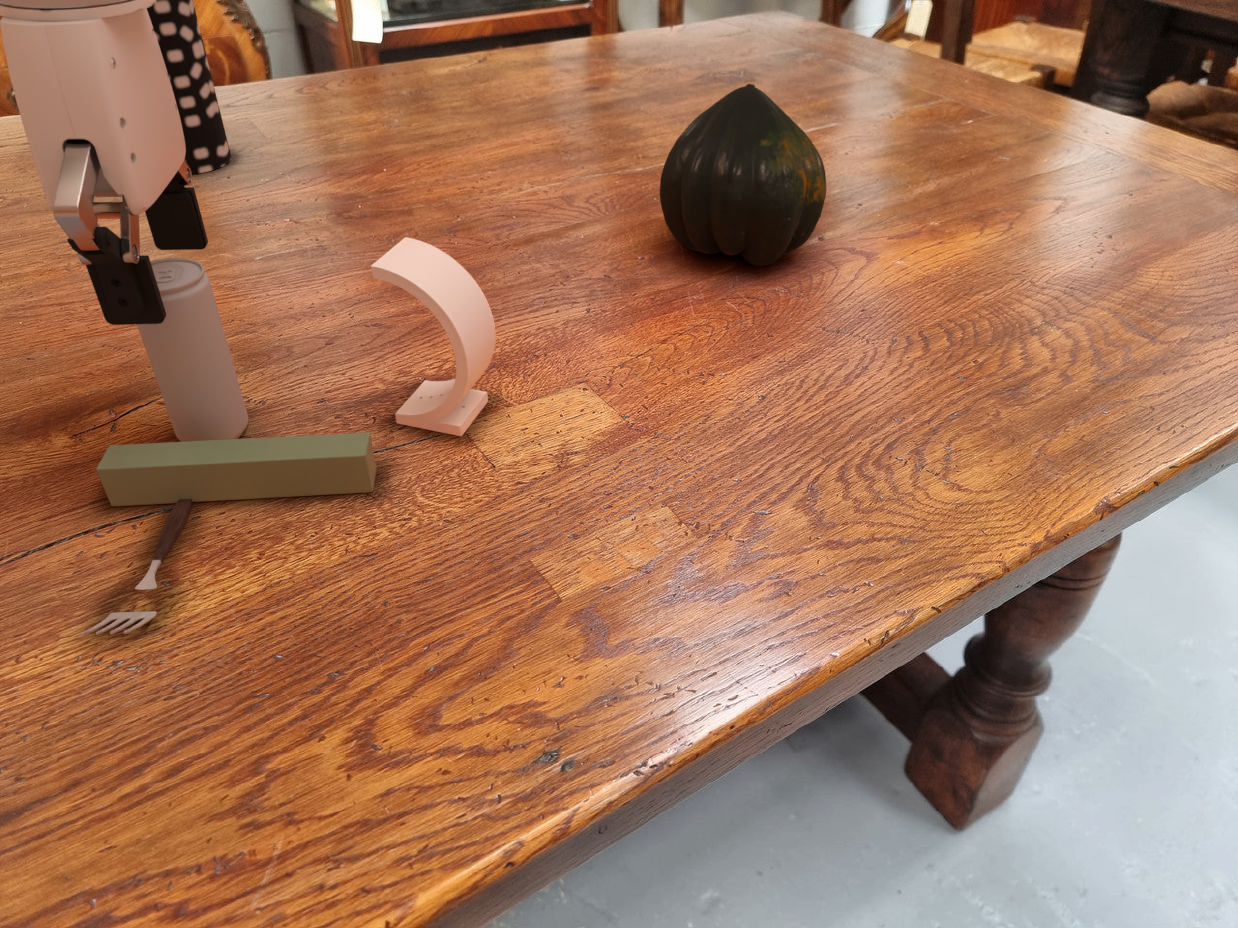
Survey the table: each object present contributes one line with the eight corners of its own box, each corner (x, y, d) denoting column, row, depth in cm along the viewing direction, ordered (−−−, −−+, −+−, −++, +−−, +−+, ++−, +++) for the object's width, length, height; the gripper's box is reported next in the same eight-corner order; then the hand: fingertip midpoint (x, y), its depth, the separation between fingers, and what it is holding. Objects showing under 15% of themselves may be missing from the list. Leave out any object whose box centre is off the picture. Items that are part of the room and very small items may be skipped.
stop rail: (111, 507, 57) (95, 469, 56) (123, 482, 59) (108, 444, 58) (372, 492, 59) (365, 455, 57) (377, 468, 61) (370, 431, 59)
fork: (225, 470, 61) (218, 446, 60) (141, 658, 49) (129, 632, 47) (185, 471, 61) (177, 447, 60) (89, 659, 48) (76, 633, 47)
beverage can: (248, 407, 66) (204, 251, 59) (253, 445, 63) (207, 284, 55) (176, 420, 65) (122, 263, 57) (177, 460, 61) (119, 297, 54)
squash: (737, 248, 76) (822, 80, 75) (607, 204, 84) (682, 52, 83) (801, 308, 87) (875, 164, 86) (681, 264, 96) (747, 132, 95)
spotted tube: (215, 144, 109) (167, -46, 97) (243, 164, 104) (195, -34, 92) (143, 159, 105) (82, -38, 93) (168, 180, 100) (107, -25, 88)
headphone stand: (426, 389, 68) (405, 236, 61) (501, 404, 67) (489, 249, 60) (396, 423, 65) (370, 265, 57) (474, 439, 63) (458, 280, 56)
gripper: (53, -59, 53) (140, 225, 63) (-100, 13, 39) (43, 358, 50) (190, -56, 53) (253, 223, 64) (86, 14, 40) (188, 354, 50)
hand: (161, 282), depth 57 cm, fingers open, 9 cm apart
